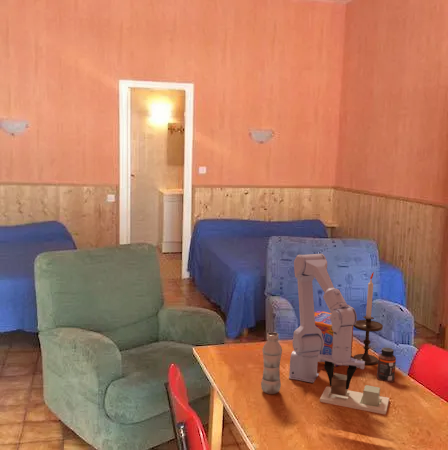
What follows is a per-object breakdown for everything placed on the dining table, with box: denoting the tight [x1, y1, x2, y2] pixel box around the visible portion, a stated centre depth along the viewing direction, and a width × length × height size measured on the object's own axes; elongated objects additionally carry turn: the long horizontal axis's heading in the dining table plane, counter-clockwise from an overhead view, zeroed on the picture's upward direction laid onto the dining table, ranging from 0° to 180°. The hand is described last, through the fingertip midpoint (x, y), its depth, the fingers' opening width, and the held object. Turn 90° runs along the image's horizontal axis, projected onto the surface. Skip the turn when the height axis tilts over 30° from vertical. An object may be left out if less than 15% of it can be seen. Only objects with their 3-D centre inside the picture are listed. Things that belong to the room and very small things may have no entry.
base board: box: [319, 386, 390, 415], centre depth 175 cm, size 20×10×2 cm, turn 68°
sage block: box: [362, 384, 381, 407], centre depth 173 cm, size 4×4×5 cm
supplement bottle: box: [376, 347, 397, 383], centre depth 195 cm, size 6×6×11 cm
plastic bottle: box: [260, 331, 283, 395], centre depth 182 cm, size 6×7×20 cm
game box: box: [305, 310, 354, 368], centre depth 215 cm, size 16×16×16 cm
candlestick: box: [353, 271, 384, 366], centre depth 211 cm, size 11×11×35 cm
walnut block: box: [330, 372, 349, 396], centre depth 176 cm, size 4×4×5 cm
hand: (339, 386), depth 176 cm, fingers closed on walnut block, 4 cm apart
